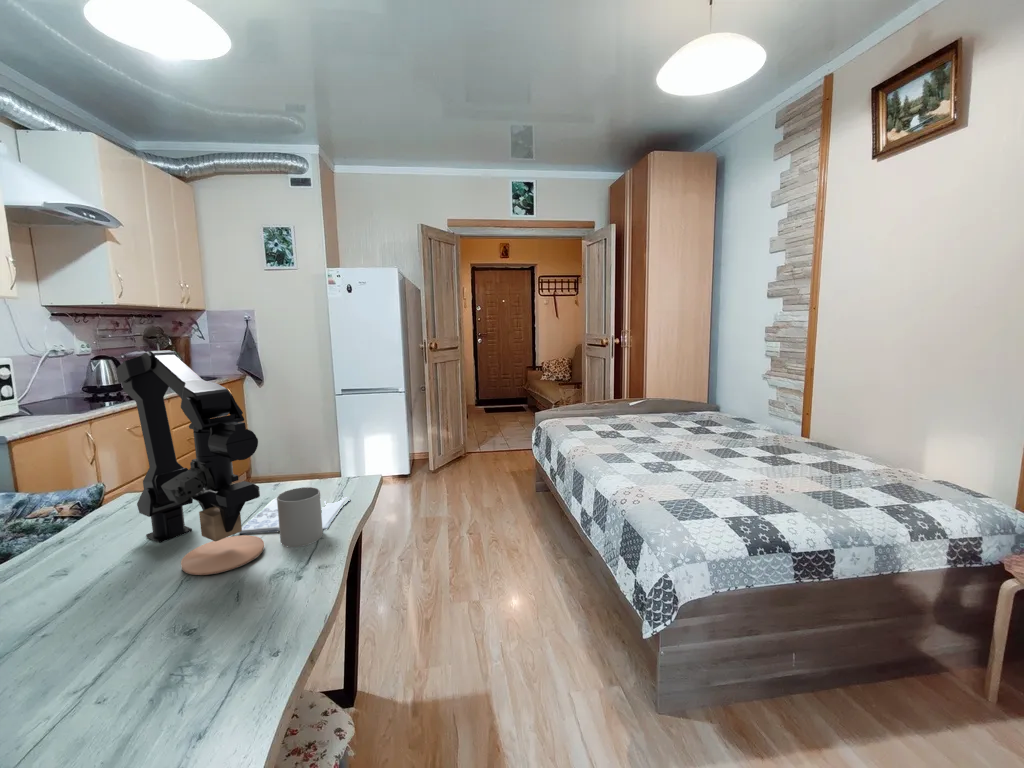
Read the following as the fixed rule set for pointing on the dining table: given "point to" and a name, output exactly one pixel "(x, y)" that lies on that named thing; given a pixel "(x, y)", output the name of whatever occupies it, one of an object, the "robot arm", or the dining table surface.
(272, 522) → the patterned cloth
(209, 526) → the walnut block
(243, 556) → the salmon pink disc
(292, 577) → the dining table surface
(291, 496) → the cup
